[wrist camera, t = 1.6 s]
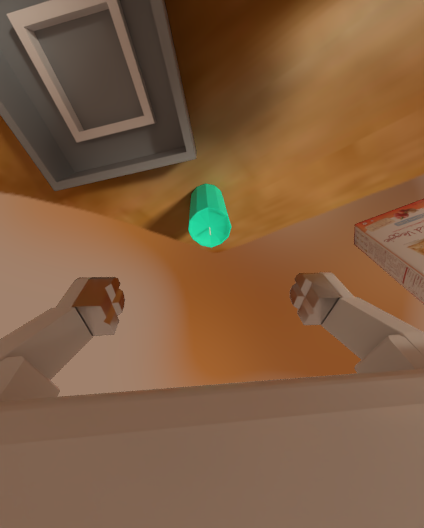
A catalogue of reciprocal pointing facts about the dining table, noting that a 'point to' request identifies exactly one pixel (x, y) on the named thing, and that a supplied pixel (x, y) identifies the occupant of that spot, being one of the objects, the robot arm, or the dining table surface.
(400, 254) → the cracker box
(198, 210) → the candle
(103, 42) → the walled box
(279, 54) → the dining table surface
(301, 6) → the dining table surface
